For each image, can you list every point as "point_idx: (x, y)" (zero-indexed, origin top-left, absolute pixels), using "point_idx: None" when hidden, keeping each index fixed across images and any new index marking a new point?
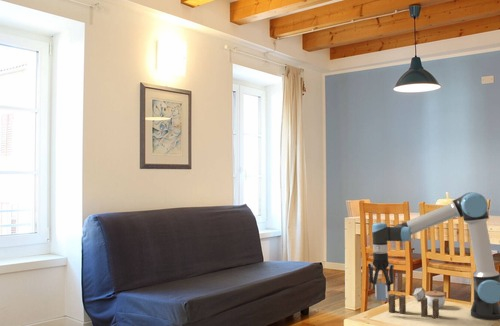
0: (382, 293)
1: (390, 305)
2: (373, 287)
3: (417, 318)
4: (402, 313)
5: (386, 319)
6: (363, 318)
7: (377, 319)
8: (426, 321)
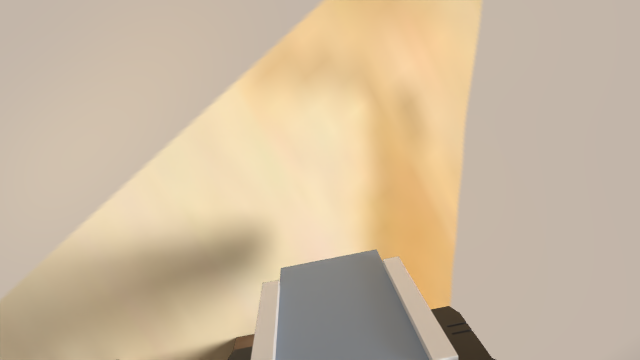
0: (322, 303)
1: None
2: (466, 327)
3: (109, 306)
4: (240, 339)
5: (249, 148)
6: (396, 57)
7: (299, 103)
8: (23, 279)
